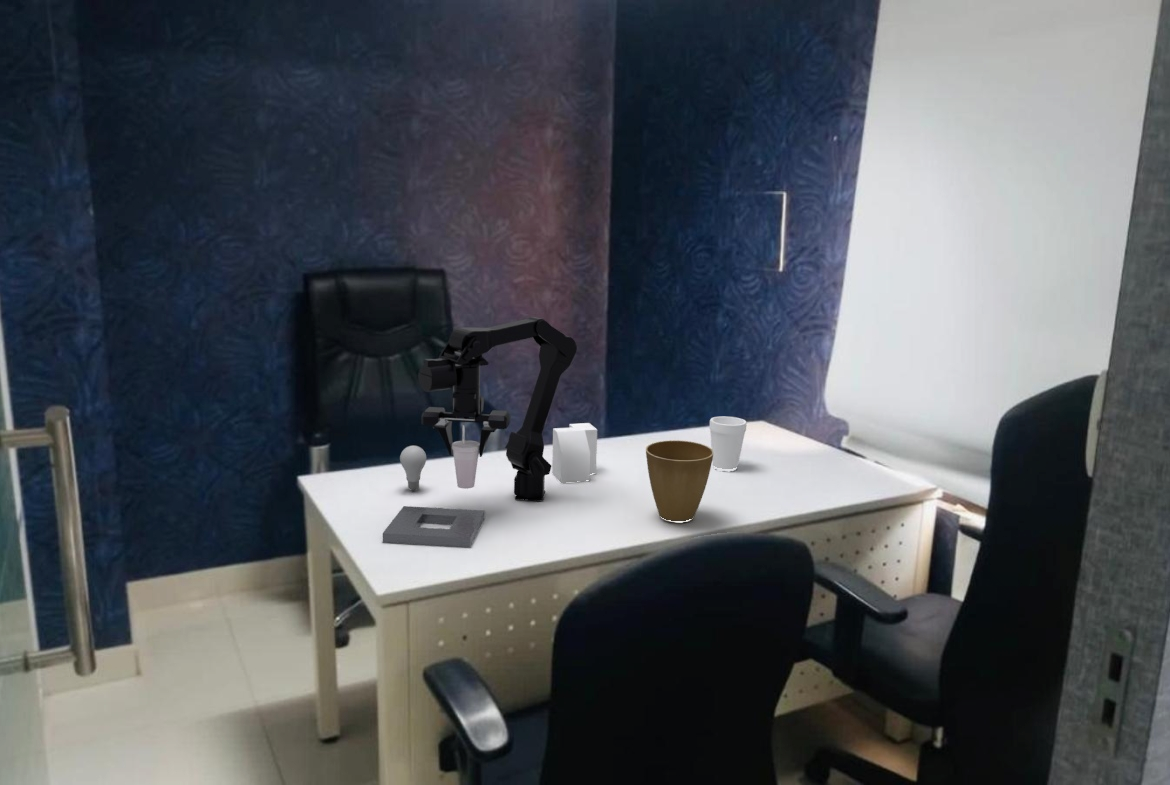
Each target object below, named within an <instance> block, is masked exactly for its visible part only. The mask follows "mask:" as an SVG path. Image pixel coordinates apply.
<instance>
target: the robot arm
mask: <svg viewBox="0 0 1170 785" xmlns="http://www.w3.org/2000/svg"><path fill="white" fill-rule="evenodd" d="M527 339H532V340H533V342H534V343H535V344H536V345H537V346H539V354H538V360H539V365H540V371H539V372H538V373H539V374H538V376H537V380H536V383H535V385H534V389H533V392H532V395H531V398H530V401H529V404H528V408H527V411H526V413H525V416H524V420H523V423H522V426H521V428H519V430H518V431H517V432H514V431H511V432H510V434H509V436H508V442H507V443H506V445H505V447H504V448H505V449H506V451H505V452H506V453H505V455H506V456H505V457H506V458H507V460H508V462H509V463H510V465H511V467H512V469H513V470H516V475H514V479H513V480H514V481H513V495H514V496H515V497H514V500H516V501H529V502H530V501H531V502H542V501H544V498H545V496H546V490H545V483H546V482H545V480H546V479H545V477H546V476H547V475H550V473H551V470H552V464H550V462H548V460H547V459H545V458H544V457H543V456H544V450H545V443H544V436H543V432H544V429H545V427H546V424H547V419H548V417H549V413H550V410H551V408H552V404H553V401H554V398H555V395H556V392H557V389H558V386H559V382H560V379H561V376H562V375H563V373H565V371H566V370H567V369H568V368H570V366H571V365H572V362H573V361H574V358H575V356H576V355H577V350H578V345H577V343H576V341H575V339H574V338H573V337H571V336H568V335H565V334H564V333H562V332H561V331H559V330H558V329H557V328H556V327H553V326H552V325H551V324H550V323H549V322H548V321H547V320H546V319H543V318H541V317H535V316H530V317H527V318H525V319H524V318H523V319H522V320H516V321H511V322H506V323H502V324H499V325H494V326H489V327H471V326H470V327H467V326H466V327H457V328H455V329H453V330H452V332H451V333H450V335H449V339H448V341H447V342H446V344H445V346H444V348H442V350H441V353H440V354H439V355H438V358H424V359H423V364H422V365H421V367H420V369H419V372H418V373H417V374H418V375H417V378H418V383H419V386H420V388H421V390H422V391H423V392H426V393H428V392H430V393H431V392H436V391H443V390H444V391H445V390H451V389H452V397H451V405H452V412H449V411H446V409H445V407H439V406H438V407H437V406H428V408H426V409H425V410H424V411H423V412H422V413H421V417H420V421H421V422H420V424H421V425H422V426H432V428H433V429H434V430H437V432H438V434H439V435H440V437H441V439H442V440H443V442H444V445H445V447H446V449H447V451H448V454H449V455H450V456H452V455H454V454H453V450H452V443H453V435H452V434H453V433H452V424H453V422H458V423H459V422H460V423H461V422H462V423H478V424H479V423H480V424H481V423H482V425H483V426H482V428H481V429H480V436H479V437H480V439H479V443H480V448H479V454H478V455H479V457H480V458H483V455H484V453H485V452H484V451H485V449H486V446H487V443H488V440H489V438H490V435H491V434H492V433H496V430H506V429H508V427H509V426H510V424H511V412H509V411H508V410H495V409H492V411H491V412H490V414H485V413H482V412H484V404H485V397H484V396H482V395H481V388H480V385H481V382H480V380H481V376H480V375H481V367H482V366H488V365H489V364H490V363H489V361H488V360H487V359H486V358H484V356H483V355H484V354H487V353H489V352H490V351H491V350H492V349H493V348H495V347H497V346H498V347H499V346H502V345H506V344H510V343H514V342H515V343H516V342H518V341H523V340H527Z"/></svg>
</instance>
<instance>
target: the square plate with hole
mask: <svg viewBox="0 0 1170 785" xmlns="http://www.w3.org/2000/svg"><path fill="white" fill-rule="evenodd" d="M485 513H486V512H485V509H484V510H480V509H463V508H446V507H444V508H443V507H428V506H427V507H426V506H412V505H410V506H408V505H407V506H406V505H405V506H403V507H402V508H401V509H400V510H399V511H398V513H397V514H396V515H395V517H394V518H393V519H392V520H391V522H390V523H389V524H388V526H387V527H386V528H385V529H384V531H383V532H382V543H386V544H398V545H399V544H401V545H417V544H421V545H420V546H437V547H439V546H440V547H451V548H452V547H453V548H455V547H456V548H471V547H472V545H473V543H474V540H475V539H476V537H477V535H478V533H479V531H480V529H481V527H482V525H483V523H484V521H485ZM423 524H437V525H450V528H439V527H438V528H436V527H435V528H434V527H421V526H422V525H423Z"/></svg>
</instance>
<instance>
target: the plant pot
mask: <svg viewBox="0 0 1170 785" xmlns="http://www.w3.org/2000/svg"><path fill="white" fill-rule="evenodd" d="M713 454H714V452H713V450H712V447H710V446H708V445H705V444H702V443H700V442H695V441H688V440H679V439H678V440H676V439H674V440H671V439H670V440H661V441H655V442H652V443H650V444H648V445H647V446H646V447H645V455H646V456H645V457H646V465H647V471H648V478H649V483H650V487H651V492H652V496H653V499H654V502H655V506H656V509H657V513H658V515H659V517H660V516H661V517H662V518H664V519H666V520H671V521H686V520H689V519H692V518H693V517H695V515H696V513H697V511H698V510H699V506H700V504H701V501H702V498H703V496H704V493H705V490H706V486H707V484H708V481H709V480H708V479H709V478H710V477H709V476H710V472H711V468H712V465H713V461H712V459H713ZM693 519H694V518H693ZM693 519H692V520H693Z"/></svg>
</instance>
